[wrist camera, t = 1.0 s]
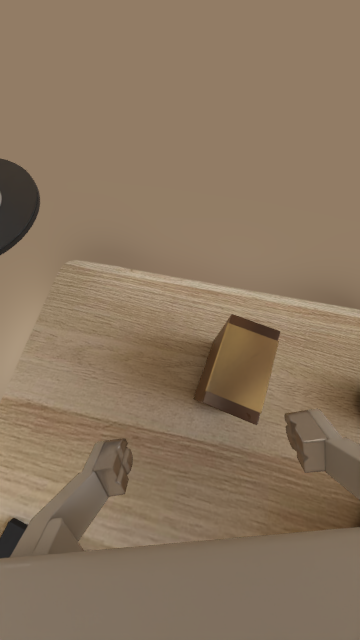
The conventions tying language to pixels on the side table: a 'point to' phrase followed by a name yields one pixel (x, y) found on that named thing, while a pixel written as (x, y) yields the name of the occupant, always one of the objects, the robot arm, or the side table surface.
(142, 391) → the side table surface
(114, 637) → the robot arm
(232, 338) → the block
